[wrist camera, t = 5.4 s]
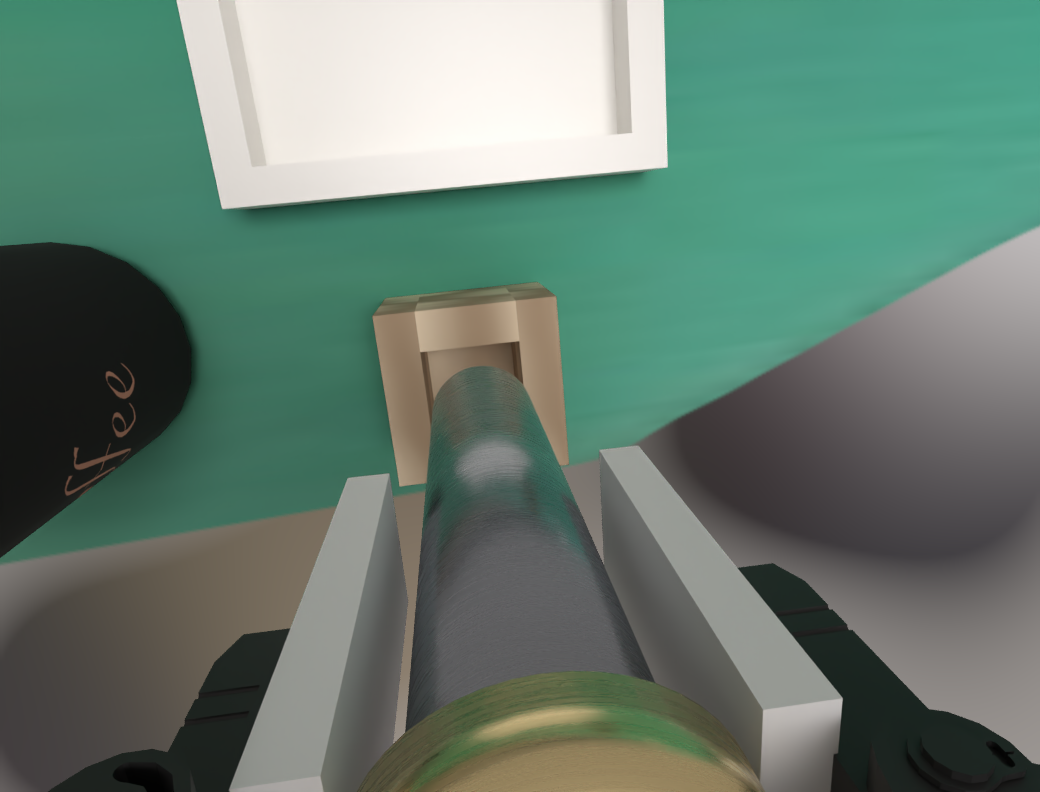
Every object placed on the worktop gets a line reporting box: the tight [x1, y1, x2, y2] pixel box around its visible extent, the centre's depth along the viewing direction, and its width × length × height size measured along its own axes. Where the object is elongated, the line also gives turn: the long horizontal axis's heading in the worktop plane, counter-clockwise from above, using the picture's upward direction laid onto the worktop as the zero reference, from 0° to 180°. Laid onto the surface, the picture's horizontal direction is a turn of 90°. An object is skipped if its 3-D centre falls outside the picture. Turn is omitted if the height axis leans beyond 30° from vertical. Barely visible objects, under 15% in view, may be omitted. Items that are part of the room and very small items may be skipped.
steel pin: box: [357, 366, 765, 792], centre depth 12 cm, size 4×4×15 cm
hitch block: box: [372, 282, 569, 486], centre depth 31 cm, size 8×8×6 cm
